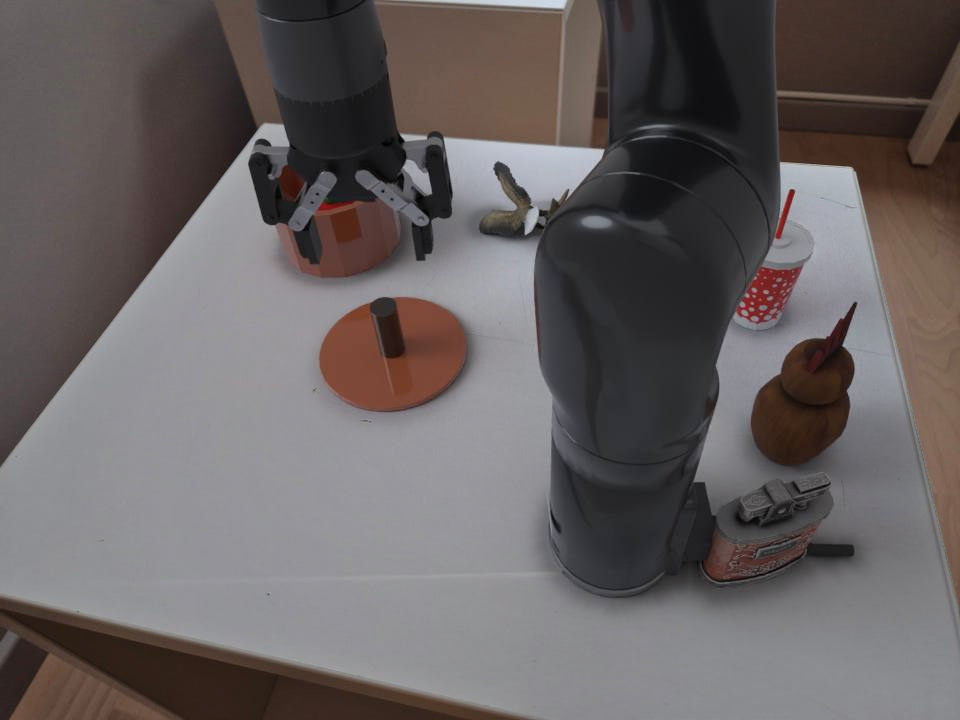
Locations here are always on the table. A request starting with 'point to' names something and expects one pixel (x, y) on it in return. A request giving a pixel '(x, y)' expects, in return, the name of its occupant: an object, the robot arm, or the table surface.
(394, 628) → the table surface
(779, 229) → the beverage cup
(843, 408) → the wooden figurine
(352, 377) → the lid
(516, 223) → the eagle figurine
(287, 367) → the table surface
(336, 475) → the table surface
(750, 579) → the lighter
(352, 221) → the pot
